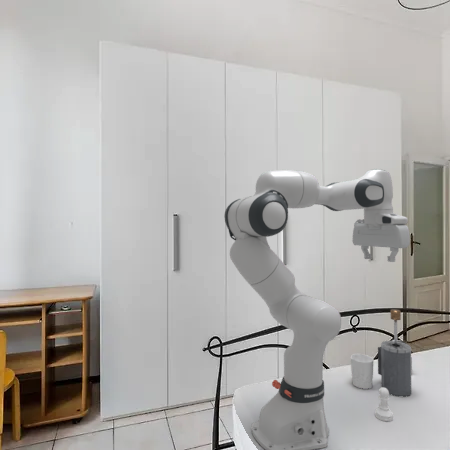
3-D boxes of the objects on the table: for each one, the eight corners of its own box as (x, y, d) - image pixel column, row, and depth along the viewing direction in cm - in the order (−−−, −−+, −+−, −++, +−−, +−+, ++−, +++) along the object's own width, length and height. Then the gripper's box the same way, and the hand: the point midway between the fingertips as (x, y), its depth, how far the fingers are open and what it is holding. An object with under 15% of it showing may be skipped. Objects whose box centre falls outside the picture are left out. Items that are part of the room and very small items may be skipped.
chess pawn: (375, 410, 105) (375, 382, 105) (392, 414, 103) (392, 385, 103) (375, 419, 101) (374, 389, 101) (393, 423, 99) (393, 393, 99)
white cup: (376, 391, 118) (375, 363, 118) (352, 389, 119) (352, 361, 119) (371, 380, 126) (370, 354, 126) (349, 379, 127) (348, 353, 127)
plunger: (397, 367, 114) (397, 313, 114) (381, 359, 120) (380, 309, 120) (411, 363, 117) (410, 311, 117) (394, 356, 123) (393, 307, 123)
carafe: (398, 399, 112) (398, 352, 112) (370, 383, 123) (370, 341, 123) (417, 393, 116) (417, 347, 116) (388, 378, 127) (388, 337, 127)
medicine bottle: (412, 375, 130) (412, 344, 130) (394, 375, 130) (393, 344, 130) (402, 367, 137) (402, 338, 137) (385, 367, 137) (385, 338, 137)
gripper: (347, 219, 118) (348, 258, 118) (398, 218, 100) (399, 264, 100) (361, 219, 121) (361, 257, 121) (412, 218, 102) (413, 262, 102)
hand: (379, 260), depth 110 cm, fingers open, 8 cm apart
